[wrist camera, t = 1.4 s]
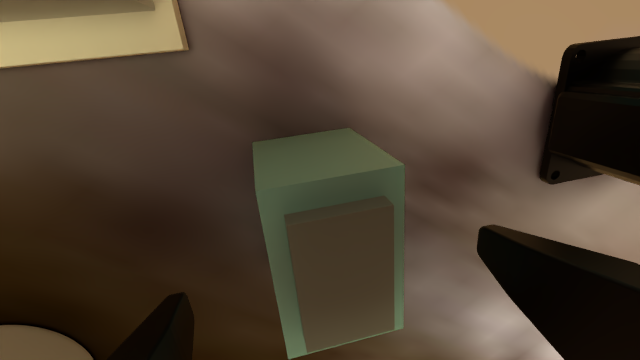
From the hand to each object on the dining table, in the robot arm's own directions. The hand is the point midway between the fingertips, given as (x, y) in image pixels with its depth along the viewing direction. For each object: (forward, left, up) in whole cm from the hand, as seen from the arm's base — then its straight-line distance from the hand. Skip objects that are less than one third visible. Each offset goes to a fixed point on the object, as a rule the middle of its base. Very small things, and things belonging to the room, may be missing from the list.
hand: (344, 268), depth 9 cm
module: (0, 0, -5) cm, 5 cm away
